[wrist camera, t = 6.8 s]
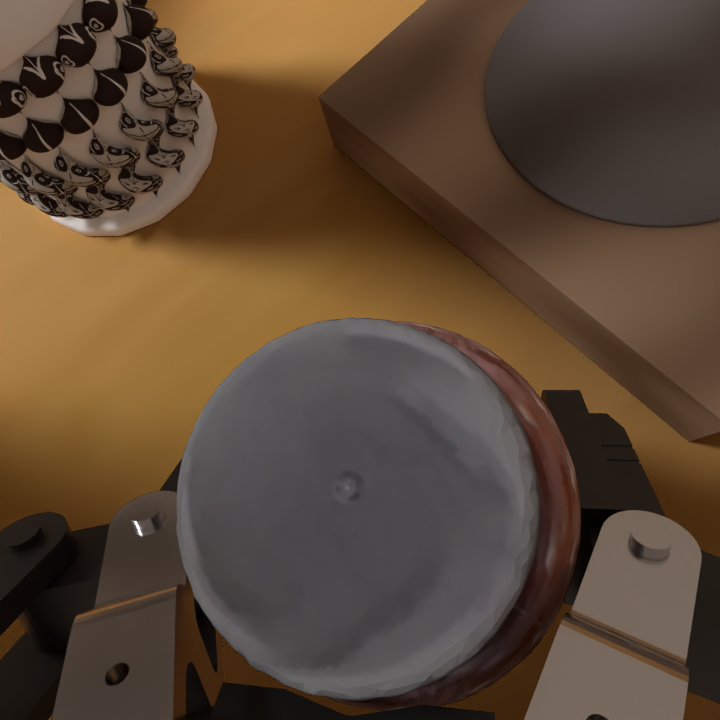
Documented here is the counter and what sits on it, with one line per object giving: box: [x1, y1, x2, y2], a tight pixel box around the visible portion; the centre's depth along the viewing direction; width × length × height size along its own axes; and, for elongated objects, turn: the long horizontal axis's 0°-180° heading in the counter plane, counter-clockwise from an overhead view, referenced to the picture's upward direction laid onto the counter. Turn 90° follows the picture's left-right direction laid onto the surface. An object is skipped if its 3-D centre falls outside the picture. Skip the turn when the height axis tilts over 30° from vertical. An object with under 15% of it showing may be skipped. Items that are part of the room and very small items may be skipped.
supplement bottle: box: [176, 318, 581, 711], centre depth 11 cm, size 6×6×11 cm
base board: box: [318, 0, 720, 442], centre depth 17 cm, size 16×14×3 cm
